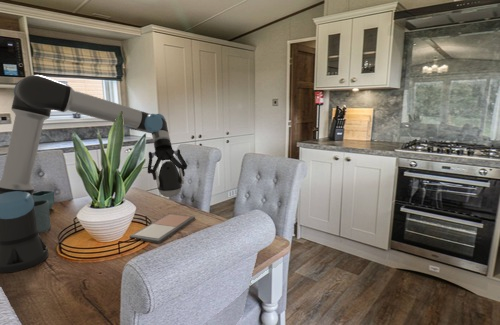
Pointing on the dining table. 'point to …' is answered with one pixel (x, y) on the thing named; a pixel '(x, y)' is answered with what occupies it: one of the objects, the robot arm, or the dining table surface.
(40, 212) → the teal cup
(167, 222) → the board
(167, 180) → the black rounded piece
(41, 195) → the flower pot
